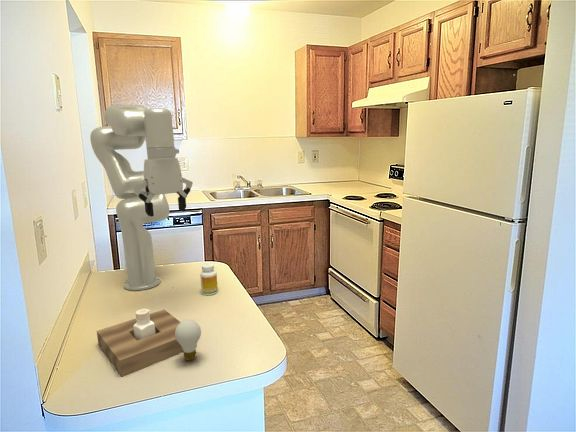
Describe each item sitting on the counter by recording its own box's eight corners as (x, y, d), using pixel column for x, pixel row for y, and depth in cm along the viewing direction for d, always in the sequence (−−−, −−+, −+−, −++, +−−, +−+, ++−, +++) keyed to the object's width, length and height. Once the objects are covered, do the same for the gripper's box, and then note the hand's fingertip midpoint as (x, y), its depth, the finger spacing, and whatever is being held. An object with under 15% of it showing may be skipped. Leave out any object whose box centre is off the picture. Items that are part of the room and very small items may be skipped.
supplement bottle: (220, 293, 131) (218, 265, 129) (205, 297, 128) (203, 269, 126) (213, 288, 135) (212, 261, 133) (199, 292, 132) (197, 264, 130)
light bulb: (179, 369, 89) (175, 329, 86) (176, 356, 94) (172, 318, 92) (205, 363, 91) (202, 323, 89) (200, 350, 96) (197, 313, 94)
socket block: (98, 345, 100) (96, 331, 99) (165, 322, 111) (164, 309, 110) (121, 376, 87) (119, 360, 86) (195, 346, 98) (193, 332, 97)
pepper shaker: (148, 340, 102) (144, 306, 100) (157, 344, 99) (154, 310, 97) (134, 346, 99) (130, 312, 97) (143, 351, 96) (139, 316, 94)
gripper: (183, 152, 118) (188, 207, 121) (125, 155, 107) (132, 216, 111) (195, 152, 112) (199, 210, 116) (135, 156, 101) (141, 220, 105)
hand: (166, 213), depth 113 cm, fingers open, 9 cm apart
